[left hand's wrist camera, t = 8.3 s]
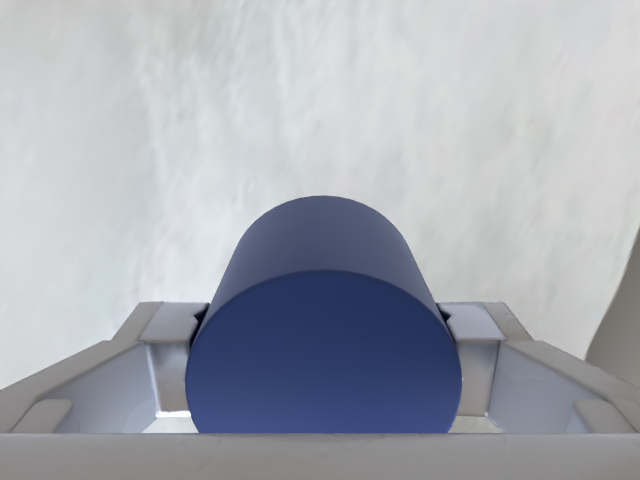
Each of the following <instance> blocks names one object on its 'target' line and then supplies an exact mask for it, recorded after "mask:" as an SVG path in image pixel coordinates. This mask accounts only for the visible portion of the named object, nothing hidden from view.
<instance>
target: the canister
mask: <svg viewBox="0 0 640 480" xmlns="http://www.w3.org/2000/svg"><path fill="white" fill-rule="evenodd" d="M461 393H462V368H461V363H460V359H459V355H458V352H457V349H456V347H455V344H454V342H453V339H452V337H451V335H450V333H449V331H448V329H447V327H446V325H445V322H444V320H443V318H442V316H441V314H440V312H439V310H438V308H437V306H436V304H435V301H434V299H433V297H432V295H431V293H430V291H429V289H428V287H427V285H426V283H425V280H424V278H423V276H422V274H421V272H420V270H419V268H418V266H417V264H416V261H415V259H414V257H413V255H412V253H411V251H410V249H409V247H408V245H407V243H406V241H405V240H404V238H403V236H402V235H401V233H400V232H399V231H398V230H397V228H396V227H395V226H394V225H393V224H392V223H391V222H390V221H389V220H388V219H387V218H385V217H384V216H383V215H381V214H380V213H379V212H377V211H376V210H374V209H372V208H370V207H368V206H366V205H364V204H362V203H359V202H356V201H354V200H351V199H346V198H342V197H335V196H310V197H304V198H298V199H295V200H292V201H288V202H286V203H283V204H281V205H279V206H277V207H275V208H273V209H271V210H270V211H268V212H266V213H265V214H263V215H262V216H261V217H260V218H259V219H257V220H256V221H255V222H254V223H253V224H252V225H251V226H250V227H249V228H248V229H247V231H246V232H245V234H244V235H243V236H242V238H241V239H240V241H239V243H238V245H237V247H236V249H235V251H234V253H233V255H232V258H231V260H230V262H229V264H228V267H227V269H226V271H225V273H224V275H223V278H222V280H221V282H220V284H219V287H218V289H217V291H216V293H215V295H214V298H213V300H212V302H211V304H210V307H209V309H208V311H207V313H206V315H205V318H204V320H203V322H202V324H201V327H200V329H199V331H198V333H197V335H196V338H195V340H194V342H193V344H192V347H191V350H190V353H189V356H188V359H187V364H186V370H185V394H186V399H187V405H188V409H189V412H190V414H191V417H192V420H193V422H194V424H195V426H196V428H197V430H198V432H199V433H448V431H449V430H450V428H451V426H452V424H453V422H454V419H455V417H456V415H457V412H458V408H459V404H460V400H461Z"/></svg>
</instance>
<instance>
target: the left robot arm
mask: <svg viewBox="0 0 640 480" xmlns="http://www.w3.org/2000/svg"><path fill="white" fill-rule="evenodd" d="M435 304H436V306H437V308H438V310H439V312H440V314H441V316H442V318H443V320H444V322H445V325H446V327H447V329H448V331H449V333H450V335H451V337H452V339H453V342H454V344H455V347H456V349H457V352H458V355H459V359H460V363H461V368H462V393H461V400H460V404H459V408H458V412H457V415H456V416H486V417H488V419H489V420H490V421H491V422H492V423H493V424H494V425H496V426H497V427H498V428H499V429H500V430H501V431H502V432H504V433H141V432H142V431H144V430H145V429H146V428H147V427H148V426H149V425H150V424H151V423H153V422H154V421H155V420H156V419H157V417H158V416H191V414H190V412H189V409H188V405H187V399H186V394H185V370H186V364H187V359H188V356H189V353H190V350H191V347H192V344H193V342H194V340H195V338H196V335H197V333H198V331H199V329H200V327H201V324H202V322H203V320H204V318H205V315H206V313H207V311H208V309H209V307H210V304H209V303H198V302H163V301H159V302H140V303H139V304H138V305H137V306H136V308H135V309H134V310H133V312H132V313H131V314H130V316H129V317H128V318H127V320H126V321H125V322H124V324H123V325H122V326H121V328H120V329H119V330H118V331H117V333H116V334H115V335H114V337H113V338H112V339H111V341H102V342H100V343H97V344H95V345H93V346H91V347H89V348H87V349H85V350H83V351H81V352H79V353H77V354H75V355H73V356H70V357H68V358H66V359H64V360H62V361H60V362H58V363H56V364H54V365H52V366H50V367H48V368H45V369H43V370H41V371H39V372H37V373H35V374H33V375H31V376H29V377H27V378H25V379H23V380H21V381H18V382H16V383H14V384H12V385H10V386H8V387H6V388H4V389H2V390H0V480H640V388H639V387H637V386H635V385H633V384H631V383H629V382H627V381H625V380H623V379H621V378H619V377H616V376H614V375H612V374H610V373H608V372H606V371H604V370H602V369H600V368H598V367H596V366H593V365H591V364H589V363H587V362H585V361H583V360H581V359H579V358H577V357H575V356H573V355H570V354H568V353H566V352H564V351H562V350H560V349H558V348H556V347H554V346H552V345H549V344H547V343H545V342H543V341H534V340H533V338H532V337H531V336H530V335H529V333H528V332H527V331H526V329H525V328H524V327H523V326H522V324H521V323H520V322H519V320H518V319H517V318H516V317H515V315H514V314H513V313H512V312H511V310H510V309H509V308H508V306H507V305H506V304H505V303H503V302H501V301H496V302H453V303H435Z"/></svg>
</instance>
